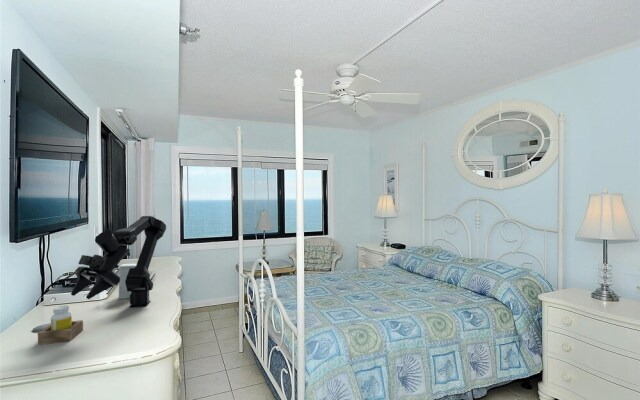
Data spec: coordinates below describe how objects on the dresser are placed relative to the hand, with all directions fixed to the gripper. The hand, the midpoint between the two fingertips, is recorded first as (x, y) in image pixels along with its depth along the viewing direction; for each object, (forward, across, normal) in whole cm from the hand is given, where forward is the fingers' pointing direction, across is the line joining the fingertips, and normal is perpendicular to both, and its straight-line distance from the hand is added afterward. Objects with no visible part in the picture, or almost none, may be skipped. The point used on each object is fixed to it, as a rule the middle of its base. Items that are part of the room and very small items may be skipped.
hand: (79, 296), depth 114 cm
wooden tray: (+12, 0, +4) cm, 13 cm away
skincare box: (-15, -22, +32) cm, 41 cm away
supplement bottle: (+12, 0, +5) cm, 13 cm away
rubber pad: (+11, -14, +6) cm, 19 cm away
